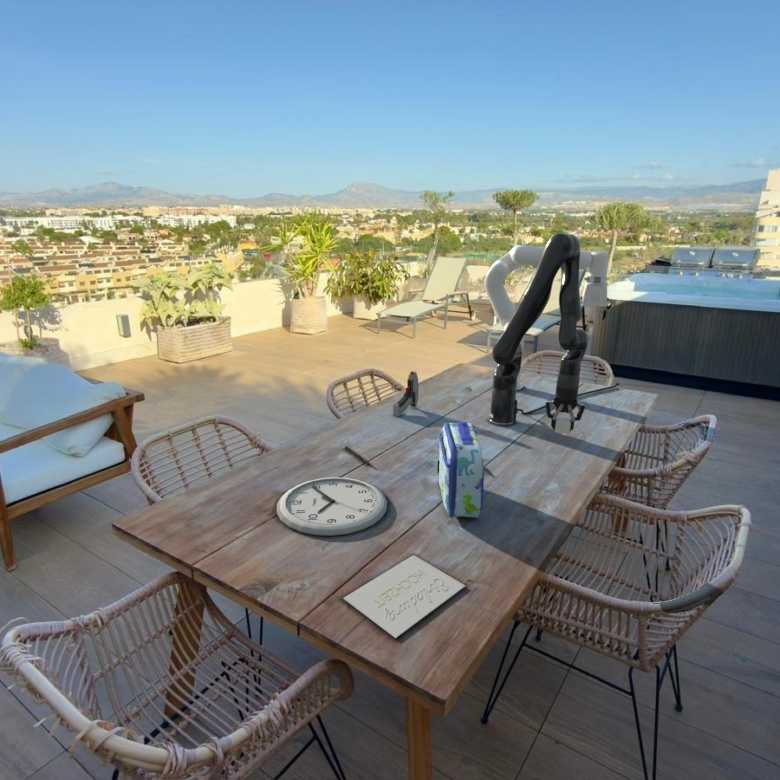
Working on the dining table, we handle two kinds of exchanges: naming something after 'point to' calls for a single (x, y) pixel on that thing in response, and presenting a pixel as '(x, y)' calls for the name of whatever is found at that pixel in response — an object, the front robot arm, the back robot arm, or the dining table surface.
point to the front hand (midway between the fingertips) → (561, 429)
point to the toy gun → (408, 395)
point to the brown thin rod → (357, 455)
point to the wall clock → (331, 506)
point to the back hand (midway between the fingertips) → (591, 319)
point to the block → (562, 425)
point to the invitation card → (404, 595)
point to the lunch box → (461, 470)
